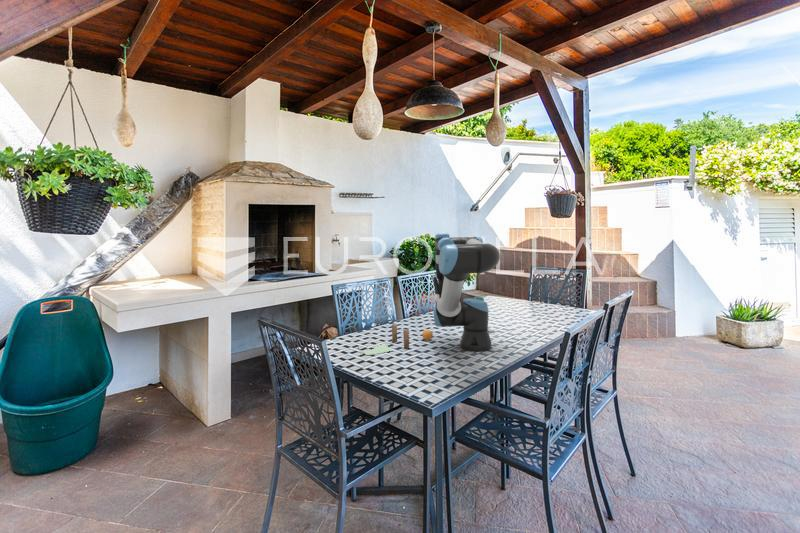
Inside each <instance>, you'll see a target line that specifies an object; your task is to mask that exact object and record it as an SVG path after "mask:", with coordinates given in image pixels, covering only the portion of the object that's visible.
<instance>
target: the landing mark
mask: <svg viewBox="0 0 800 533" xmlns="http://www.w3.org/2000/svg"><path fill="white" fill-rule="evenodd" d="M383 344H384V343H383ZM383 344H382V345H378V347H377V346H376V347H375V348H374V349H372V350H369V351H367V350H366V351H365V350H364V351H362V350H361V351H362V353H363V354H364V353H365V355H366V356H367V355H368V356H373V354H374V355H378V353H379V354H384V352H385V353H388V352H389V351H390V352H395V350H394V349H393V348H391V347H389V346H388V345H386V344H384V345H383ZM361 351H360V352H361ZM390 352H389V353H390Z"/></svg>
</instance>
